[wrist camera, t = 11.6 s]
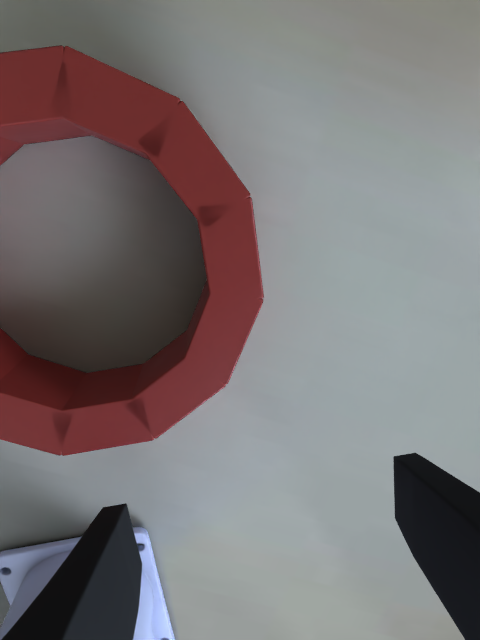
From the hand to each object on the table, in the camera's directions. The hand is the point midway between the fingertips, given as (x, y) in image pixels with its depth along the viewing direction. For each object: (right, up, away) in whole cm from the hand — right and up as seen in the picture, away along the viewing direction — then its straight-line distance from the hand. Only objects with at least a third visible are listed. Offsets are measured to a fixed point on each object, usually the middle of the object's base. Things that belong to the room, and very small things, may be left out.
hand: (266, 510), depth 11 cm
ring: (-7, +8, +7) cm, 13 cm away
